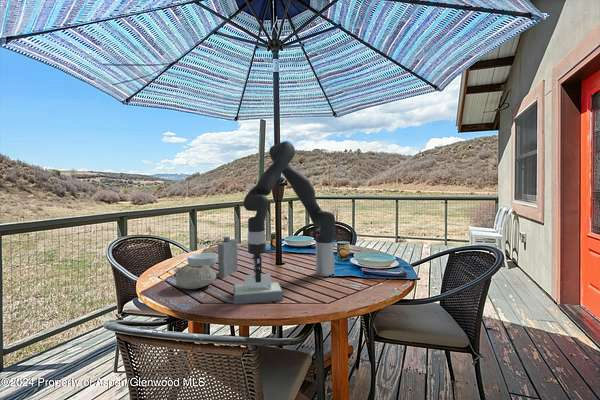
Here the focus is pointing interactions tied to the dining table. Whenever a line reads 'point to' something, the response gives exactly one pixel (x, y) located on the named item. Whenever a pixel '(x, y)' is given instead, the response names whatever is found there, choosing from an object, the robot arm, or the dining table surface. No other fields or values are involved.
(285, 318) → the dining table surface
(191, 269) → the beige squat rounded piece
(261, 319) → the dining table surface
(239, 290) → the stand
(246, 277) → the housing
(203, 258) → the cereal bowl
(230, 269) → the hip flask
